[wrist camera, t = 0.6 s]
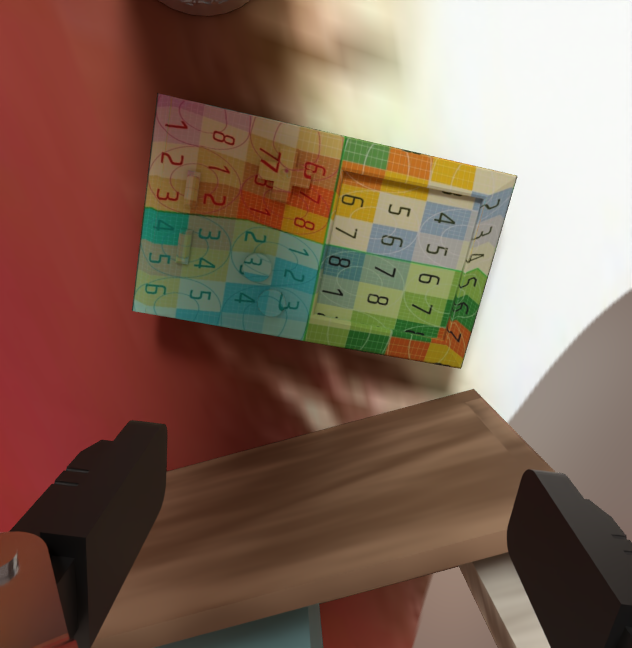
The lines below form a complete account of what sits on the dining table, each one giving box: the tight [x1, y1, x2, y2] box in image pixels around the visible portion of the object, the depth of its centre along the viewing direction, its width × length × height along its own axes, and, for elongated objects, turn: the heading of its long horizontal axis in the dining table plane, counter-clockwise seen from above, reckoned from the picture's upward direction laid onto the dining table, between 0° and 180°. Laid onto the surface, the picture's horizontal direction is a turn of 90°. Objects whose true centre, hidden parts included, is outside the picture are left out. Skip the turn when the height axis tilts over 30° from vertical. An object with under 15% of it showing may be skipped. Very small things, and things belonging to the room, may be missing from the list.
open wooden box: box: [91, 389, 555, 648], centre depth 29 cm, size 13×26×14 cm, turn 105°
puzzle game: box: [132, 93, 517, 369], centre depth 29 cm, size 12×5×20 cm
